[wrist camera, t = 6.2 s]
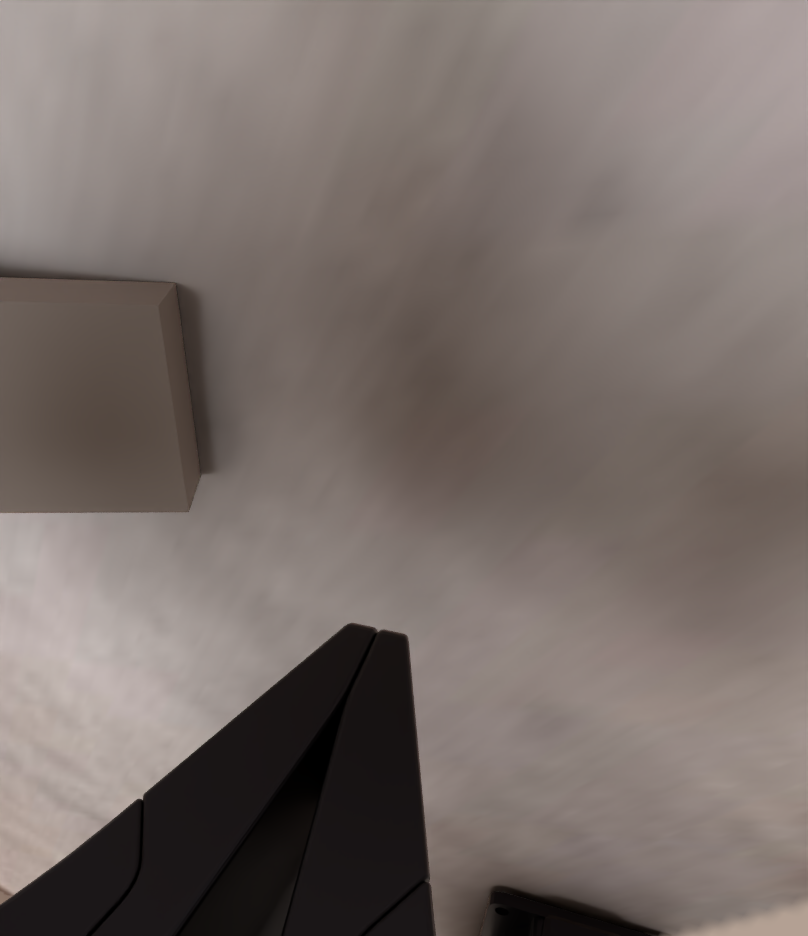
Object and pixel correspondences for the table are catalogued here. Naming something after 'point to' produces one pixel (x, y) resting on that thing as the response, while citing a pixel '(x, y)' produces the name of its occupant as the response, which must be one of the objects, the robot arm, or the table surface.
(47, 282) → the domino
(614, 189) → the table surface
